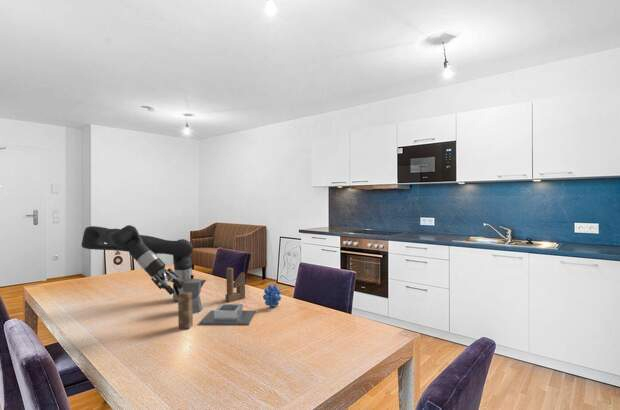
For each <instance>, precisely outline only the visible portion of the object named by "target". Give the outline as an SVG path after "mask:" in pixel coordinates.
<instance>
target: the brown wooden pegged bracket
mask: <svg viewBox="0 0 620 410" xmlns="http://www.w3.org/2000/svg"><path fill="white" fill-rule="evenodd" d="M225 271H226V272H225V273H226V274H225V275H226V294H225V298H224V299H225V302H227V303H231V302H235V301H238V300H243V299H246V273H245V272H242V271H241V272H240V273H239V275H237V277H236V279H235V281H234V268H233V267H227V268H226V270H225ZM235 288H236V291H235V292H234V289H235Z"/></svg>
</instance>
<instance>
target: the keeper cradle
mask: <svg viewBox="0 0 620 410" xmlns="http://www.w3.org/2000/svg"><path fill="white" fill-rule="evenodd" d="M255 315H256V310H243V303H221V304H219V306H218V307H217V308H216V309H215V310H211V309H210V311H208V313H207V314H205V316H204V317H203V318H202V319H201V320H200V321H199V326H200V325H201V326H207V325H208V326H210V325H211V326H215V325H216V326H217V325H220V326H223V325H224V326H231V325H232V326H234V325H235V326H249V325H250V323H251V321H252V320H253V318H254V316H255Z"/></svg>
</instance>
